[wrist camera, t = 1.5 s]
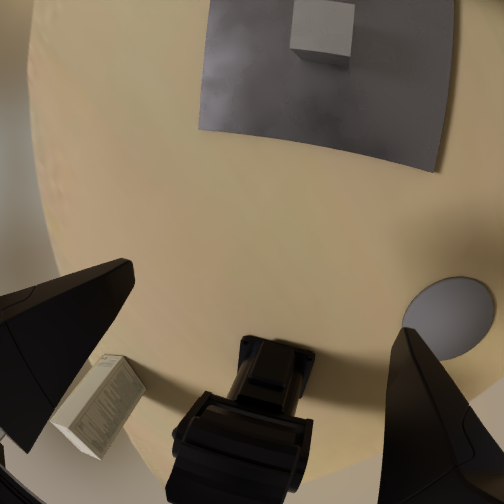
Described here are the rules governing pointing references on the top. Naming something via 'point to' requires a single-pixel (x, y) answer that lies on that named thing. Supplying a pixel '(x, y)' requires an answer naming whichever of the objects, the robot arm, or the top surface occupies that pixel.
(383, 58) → the post plate
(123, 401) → the skincare box
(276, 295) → the top surface
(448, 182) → the top surface
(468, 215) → the top surface
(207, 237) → the top surface
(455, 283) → the slate coaster
